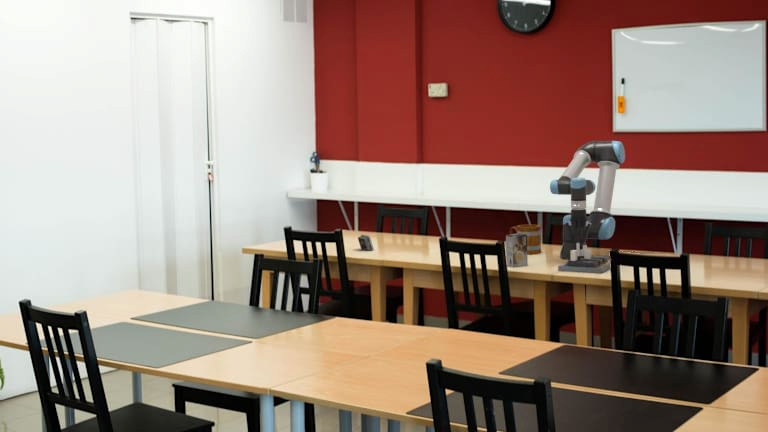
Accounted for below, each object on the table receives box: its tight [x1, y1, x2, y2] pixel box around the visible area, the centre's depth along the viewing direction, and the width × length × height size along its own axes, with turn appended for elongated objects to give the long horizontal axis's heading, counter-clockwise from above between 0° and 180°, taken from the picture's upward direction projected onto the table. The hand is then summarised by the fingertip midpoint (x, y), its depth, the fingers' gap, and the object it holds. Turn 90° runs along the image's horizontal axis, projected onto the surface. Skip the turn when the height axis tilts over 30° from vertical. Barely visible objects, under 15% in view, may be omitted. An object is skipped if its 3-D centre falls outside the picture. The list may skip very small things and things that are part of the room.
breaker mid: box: [584, 247, 592, 259], centre depth 510 cm, size 3×2×5 cm
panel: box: [557, 255, 611, 274], centre depth 511 cm, size 26×22×4 cm
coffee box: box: [505, 233, 529, 268], centre depth 524 cm, size 9×6×16 cm
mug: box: [509, 223, 542, 256], centre depth 565 cm, size 20×14×15 cm
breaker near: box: [570, 250, 577, 261], centre depth 505 cm, size 3×2×5 cm
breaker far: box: [581, 244, 588, 256], centre depth 519 cm, size 3×2×5 cm
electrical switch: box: [357, 233, 375, 252], centre depth 590 cm, size 9×5×9 cm, turn 30°
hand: (578, 255), depth 513 cm, fingers closed
